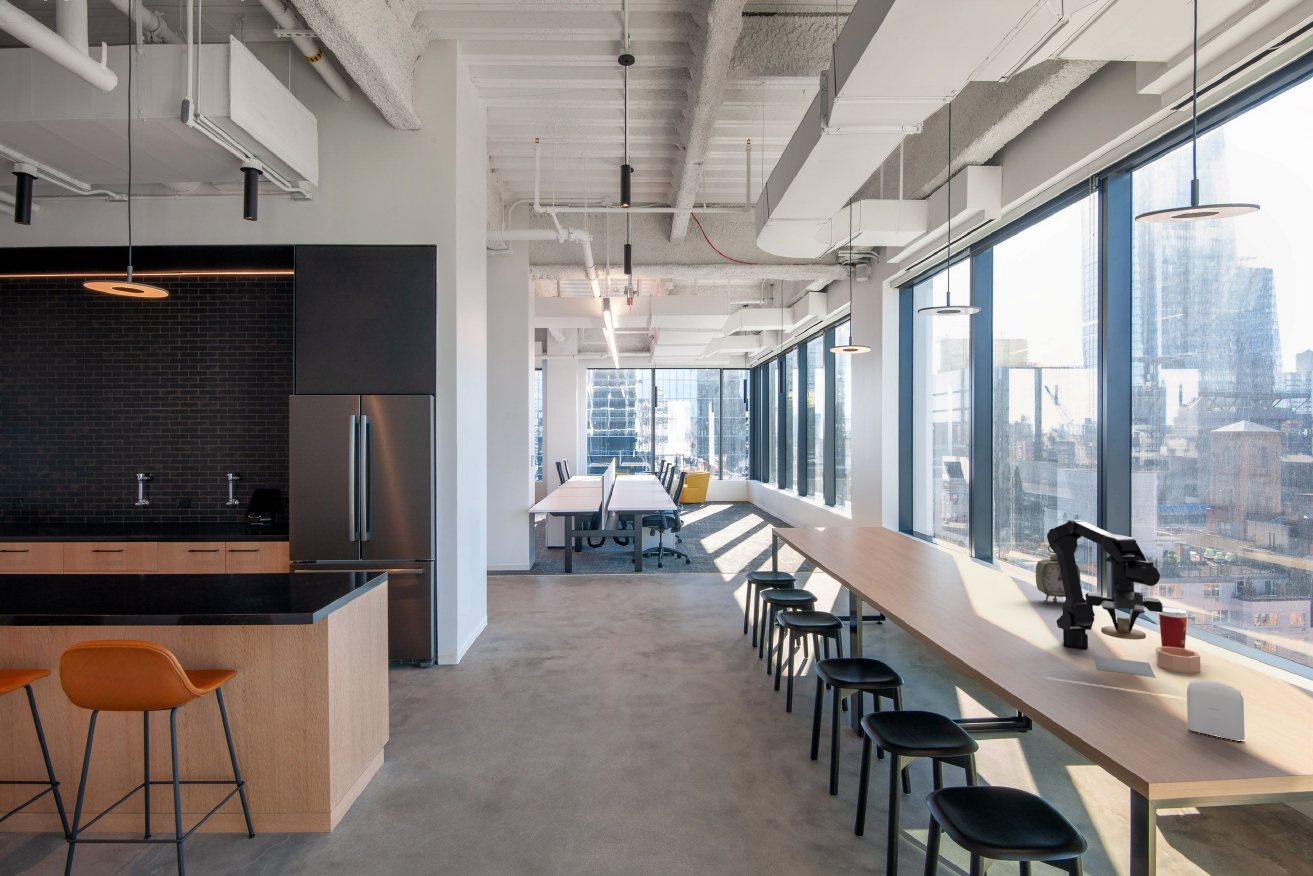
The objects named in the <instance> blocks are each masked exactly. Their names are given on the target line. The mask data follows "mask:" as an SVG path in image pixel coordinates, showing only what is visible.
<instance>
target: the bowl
mask: <svg viewBox="0 0 1313 876" xmlns="http://www.w3.org/2000/svg"><path fill="white" fill-rule="evenodd" d="M1155 663H1156V665H1157V667H1160V668H1162V669H1165V670H1168V671H1171V672H1179V673H1185V674H1193V673H1194V674H1195V673H1200V672H1201V655H1200V654H1199V653H1198V652H1197V651H1194V650H1191V649H1188V648H1185V649H1184V648H1177V647H1168V646H1165V647H1162V646H1159V647H1155Z"/></svg>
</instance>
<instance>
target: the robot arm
mask: <svg viewBox="0 0 1313 876" xmlns="http://www.w3.org/2000/svg"><path fill="white" fill-rule="evenodd" d="M1080 538H1085V539H1086V540H1089V541H1091V542H1093V543H1095V544H1098V545H1099V546H1100V547H1102V550H1103V551H1104V552H1105V553H1107V554H1108V555H1109V556H1108V557H1106V558H1105V559H1104V561H1105V562H1108V563H1110V593H1111V594H1110V595H1111V596H1110V597H1108V596H1107V597H1104V596H1102V594H1101V593H1094V592H1087V593H1086V594H1085V598H1084V595H1083V589H1082V585H1081V581H1080V580H1079V575H1078V570H1077V565H1078V564H1077V561H1076V556H1075V553H1076V551H1077V548H1078V545H1079V544H1078V540H1079V539H1080ZM1046 539H1047V542H1048V544H1049V545H1050V547H1049V549H1051V551H1053V552H1055V553H1054V554H1056V555H1057V557H1058V562H1059V567H1060V572H1061V577H1062V582H1063V587H1064V592H1065V596H1066V597H1065V601H1064V603H1063V606H1062V607H1061V608H1062V614H1061V616H1060V617H1058V618H1057V620H1056V625H1057V628H1059V629H1061V630H1062V634H1063V635H1062V636H1063V637H1062V647H1063V648H1067V649H1069V648H1070V649H1074V650H1075V649H1077V650H1083V651H1087V649H1088V648H1089V636H1088V633H1087V631H1091V630H1092V627H1093V625H1094V622H1095V616H1096V614H1095V612H1094V607H1100V606H1101V607H1102V610H1107V612H1108V614H1109V616H1110V618H1111V620H1112V623H1113V626H1115V629H1116V630H1117V615H1116V609H1115V607H1116V608H1117V609H1129V610H1130V611H1129V617H1128V618H1129V632H1131V630H1132V629H1134V625H1135V623H1136V620H1137V618H1138V617H1139V616H1140V615H1141V614H1144V613H1146V612H1145V610H1144V609H1145V608H1146V609H1147V610H1148V611H1149V612H1153V613H1155V612H1157V613H1158V612H1163V608H1164V607H1163V603H1162V602H1161V600H1160V599H1159V598H1151V597H1144V594H1143V592H1137V591H1135V583H1137V584H1141V585H1144V586H1148V587H1153V586H1156V585H1157V584H1158V583H1159V581H1160V578H1161V574H1160V572H1159V570H1158V568H1156V567H1155V566H1154V562H1153V561H1147V558H1146V557H1145V554H1144V553H1143V551H1142V549H1141V548H1140V546H1139V544H1138V543H1137V540H1136V539H1135V538H1134V537H1131V536H1127V535H1122V534H1114V533H1111V532H1109V531H1106V530H1104V529H1101V528H1100V527H1097V526H1095V525H1093V524H1091V523H1089V522H1087V520H1083V519H1071V520H1068V521H1067V522H1065V523H1064V524H1060V525H1058V526H1056V527H1054V528H1051V529H1049V530H1048V532H1047V534H1046ZM1049 545H1048V546H1049ZM1086 630H1087V631H1086Z"/></svg>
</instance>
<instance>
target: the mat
mask: <svg viewBox="0 0 1313 876" xmlns="http://www.w3.org/2000/svg"><path fill="white" fill-rule="evenodd" d="M1094 661H1095V666H1096V670H1099V671H1105V672H1112V673H1120V674H1127V675H1135V676H1141V677H1142V676H1143V677H1147V678H1148V677H1149V678H1156V675H1155V673H1154V671H1153V668H1152V667H1151V664H1150V662H1146V661H1145V662H1144V661H1140V660H1139V661H1137V660H1131V659H1130V660H1129V659H1122V658H1116V657H1115V658H1114V657H1106V656H1099V655H1094Z"/></svg>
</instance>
